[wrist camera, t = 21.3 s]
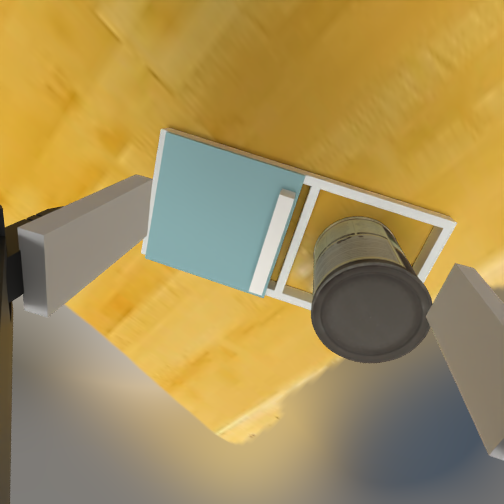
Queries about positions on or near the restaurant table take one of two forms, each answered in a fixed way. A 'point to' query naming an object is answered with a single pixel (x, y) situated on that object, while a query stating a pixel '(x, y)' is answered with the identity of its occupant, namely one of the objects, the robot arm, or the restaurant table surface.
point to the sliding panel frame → (316, 182)
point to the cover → (220, 214)
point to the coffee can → (366, 293)
